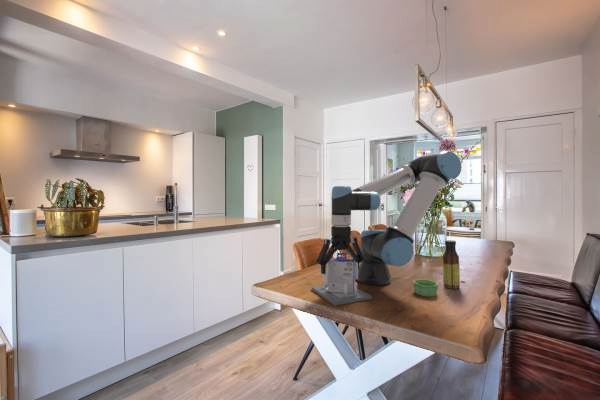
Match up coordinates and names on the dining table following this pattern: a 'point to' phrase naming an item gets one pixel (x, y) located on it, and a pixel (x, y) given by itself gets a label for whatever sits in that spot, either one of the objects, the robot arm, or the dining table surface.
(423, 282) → the ramekin
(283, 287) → the dining table surface
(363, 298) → the pin tray
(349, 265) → the ink cartridge box
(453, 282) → the sauce bottle
